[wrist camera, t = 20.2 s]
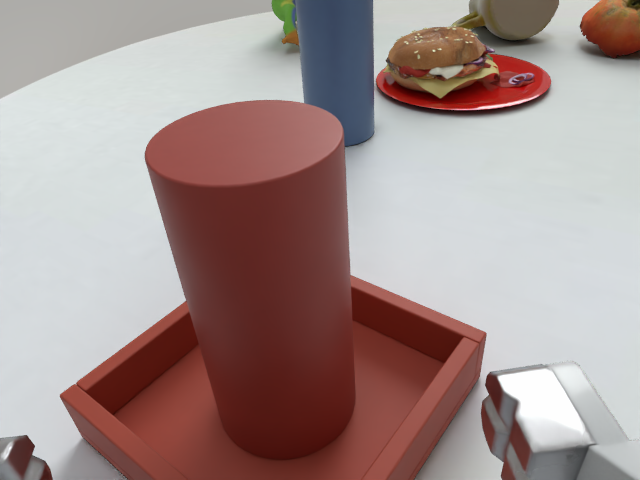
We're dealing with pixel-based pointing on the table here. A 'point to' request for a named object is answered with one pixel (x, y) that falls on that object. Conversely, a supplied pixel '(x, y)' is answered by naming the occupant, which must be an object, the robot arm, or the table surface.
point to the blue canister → (339, 62)
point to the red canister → (264, 266)
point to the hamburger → (457, 72)
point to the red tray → (288, 474)
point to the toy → (287, 19)
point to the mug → (509, 17)
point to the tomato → (613, 26)
